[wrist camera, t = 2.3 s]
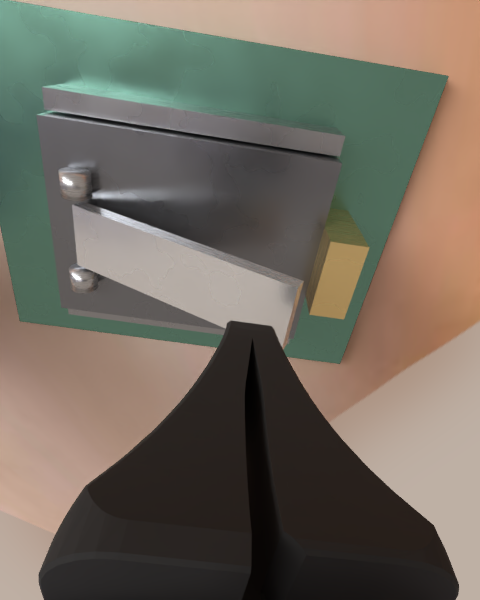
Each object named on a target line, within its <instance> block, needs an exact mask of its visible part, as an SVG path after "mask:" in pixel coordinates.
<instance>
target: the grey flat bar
mask: <svg viewBox="0 0 480 600" xmlns="http://www.w3.org/2000/svg"><path fill="white" fill-rule="evenodd" d="M72 211H73V222H74V232H75V243H76V253H77V264H78V265H79V266H82V267H84V268H86V269H89V270H91V271H93V272H96V273H98V274H100V275H102V276H105V277H107V278H109V279H112V280H114V281H116V282H119V283H121V284H123V285H126V286H128V287H130V288H133V289H135V290H137V291H140V292H142V293H144V294H147V295H149V296H151V297H153V298H156V299H158V300H160V301H163V302H165V303H167V304H170V305H172V306H174V307H177V308H179V309H181V310H184V311H186V312H188V313H191V314H193V315H195V316H197V317H200V318H202V319H204V320H207V321H209V322H211V323H214V324H216V325H218V326H221V327H223V328H225V329H226V325H227V323H228V322H229V321H231V320H232V321H239V322H246V323H254V324H261V325H269V326H272V327H273V328H274V330H275V332H276V335H277V337H278V340H279V342H280V344H281V346H282V348H283V349H284V348H285V346H286V345H287V342H288V338H289V334H290V330H291V327H292V323H293V319H294V316H295V312H296V308H297V304H298V301H299V297H300V293H301V290H302V286H303V282H304V281H302V280H299V279H297V278H294V277H291V276H288V275H286V274H283V273H280V272H277V271H274V270H272V269H269V268H266V267H263V266H261V265H258V264H255V263H252V262H250V261H247V260H244V259H241V258H238V257H236V256H233V255H230V254H227V253H225V252H222V251H219V250H216V249H214V248H211V247H208V246H205V245H202V244H200V243H197V242H194V241H191V240H189V239H186V238H183V237H180V236H178V235H175V234H172V233H169V232H166V231H164V230H161V229H158V228H155V227H153V226H150V225H147V224H144V223H142V222H139V221H136V220H133V219H130V218H128V217H125V216H122V215H119V214H117V213H114V212H111V211H108V210H106V209H103V208H100V207H97V206H94V205H92V204H89V203H86V202H79V203H76V204H73V205H72Z"/></svg>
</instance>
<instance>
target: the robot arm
mask: <svg viewBox="0 0 480 600" xmlns="http://www.w3.org/2000/svg"><path fill="white" fill-rule="evenodd" d="M39 585H40V589H41V592H42V595H43V598H44V600H456V598H457V596H458V592H459V584H458V581H457V578H456V576H455V573H454V571H453V568H452V565H451V562H450V560H449V557H448V555H447V553H446V550H445V548H444V546H443V544H442V542H441V540H440V538H439V536H438V534H437V531H436V529H435V527H434V525H433V524H431V523H430V522H429V521H428V520H427V519H426V518H424V517H423V516H422V515H421V514H420V513H418V512H417V511H416V510H415V509H414V508H412V507H411V506H410V505H409V504H408V503H406V502H405V501H404V500H403V499H402V498H401V497H399V496H398V495H397V494H396V493H395V492H394V491H392V490H391V489H390V488H389V487H388V486H387V485H386V484H385V483H384V482H383V481H382V480H381V479H380V478H379V477H378V476H376V475H375V474H374V473H373V472H372V471H371V470H370V469H369V468H368V467H367V466H366V465H365V464H364V463H363V462H362V461H361V459H360V458H359V457H358V456H357V455H356V454H355V453H354V452H353V451H352V450H351V449H350V448H349V447H348V445H347V444H346V443H345V442H344V441H343V440H342V439H341V438H340V436H339V435H338V434H337V433H336V432H335V431H334V429H333V428H332V427H331V425H330V424H329V423H328V421H327V420H326V419H325V418H324V416H323V415H322V414H321V412H320V411H319V409H318V408H317V407H316V405H315V404H314V402H313V401H312V399H311V398H310V396H309V395H308V393H307V392H306V390H305V388H304V387H303V385H302V384H301V382H300V380H299V379H298V377H297V375H296V373H295V371H294V370H293V368H292V366H291V364H290V362H289V360H288V359H287V357H286V355H285V353H284V350H283V348H282V346H281V344H280V342H279V340H278V337H277V335H276V332H275V330H274V328H273V327H272V326H269V325H261V324H254V323H246V322H239V321H232V320H231V321H229V322H228V323H227V325H226V329H225V332H224V335H223V337H222V340H221V342H220V344H219V346H218V348H217V350H216V351H215V353H214V355H213V357H212V358H211V360H210V362H209V363H208V365H207V367H206V368H205V370H204V371H203V372H202V374H201V375H200V377H199V378H198V380H197V381H196V383H195V384H194V385H193V387H192V388H191V389H190V390H189V392H188V393H187V394H186V395H185V397H184V398H183V399H182V400H181V401H180V403H179V404H178V405H177V406H176V407H175V408H174V409H173V410H172V412H171V413H170V414H169V415H168V416H167V417H166V418H165V419H164V420H163V421H162V422H161V423H160V424H159V425H158V426H157V427H156V428H155V429H154V430H153V431H152V432H151V433H150V434H149V435H148V436H147V437H145V438H144V439H143V440H142V441H141V442H140V443H139V444H138V445H137V446H135V447H134V448H133V449H132V450H131V451H130V452H129V453H128V454H126V455H125V456H124V457H123V458H122V459H120V460H119V461H118V462H116V463H115V464H114V465H113V466H111V467H110V468H109V469H107V470H106V471H105V472H103V473H102V474H101V475H99V476H98V477H97V478H95V479H94V480H93V481H92V482H90V483H89V484H88V485H86V486H85V487H84V489H83V490H82V492H81V493H80V495H79V496H78V498H77V499H76V501H75V502H74V504H73V505H72V507H71V508H70V510H69V511H68V513H67V515H66V516H65V518H64V520H63V522H62V523H61V525H60V527H59V529H58V531H57V533H56V535H55V537H54V539H53V541H52V543H51V546H50V548H49V551H48V553H47V555H46V558H45V560H44V562H43V565H42V568H41V570H40V572H39Z"/></svg>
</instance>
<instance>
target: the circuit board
mask: <svg viewBox="0 0 480 600" xmlns="http://www.w3.org/2000/svg"><path fill="white" fill-rule="evenodd" d="M448 77H449V76H446V75H440V74H434V73H428V72H423V71H417V70H411V69H405V68H399V67H394V66H388V65H382V64H376V63H370V62H364V61H359V60H353V59H347V58H341V57H335V56H330V55H324V54H318V53H312V52H306V51H301V50H295V49H289V48H283V47H277V46H271V45H266V44H260V43H254V42H248V41H242V40H237V39H231V38H225V37H219V36H213V35H208V34H202V33H196V32H190V31H184V30H178V29H173V28H167V27H161V26H155V25H149V24H144V23H138V22H132V21H126V20H120V19H115V18H109V17H103V16H97V15H91V14H85V13H80V12H74V11H68V10H62V9H56V8H51V7H45V6H39V5H33V4H27V3H22V2H16V1H10V0H0V226H1V231H2V236H3V241H4V246H5V251H6V256H7V261H8V265H9V270H10V275H11V280H12V285H13V290H14V295H15V300H16V305H17V309H18V314H19V319H20V321H22V322H30V323H37V324H45V325H52V326H60V327H67V328H75V329H82V330H90V331H97V332H105V333H112V334H120V335H127V336H135V337H142V338H150V339H157V340H165V341H172V342H180V343H187V344H195V345H202V346H210V347H217V348H218V346H219V344H220V342H221V340H222V337H223V335H224V332H225V328H223V327H221V326H218V325H216V324H214V323H211V322H209V321H207V320H204V319H202V318H200V317H197V316H195V315H193V314H191V313H188V312H186V311H184V310H181V309H179V308H177V307H174V306H172V305H170V304H167V303H165V302H163V301H160V300H158V299H156V298H153V297H151V296H149V295H147V294H144V293H142V292H140V291H137V290H135V289H133V288H130V287H128V286H126V285H123V284H121V283H119V282H116V281H114V280H112V279H109V278H107V277H105V276H102V275H100V274H98V273H96V272H93V271H91V270H89V269H86V268H84V267H82V266H79V265H78V264H77V253H76V243H75V232H74V222H73V211H72V205H73V204H76V203H79V202H86V203H89V204H92V205H94V206H97V207H100V208H103V209H106V210H108V211H111V212H114V213H117V214H119V215H122V216H125V217H128V218H130V219H133V220H136V221H139V222H142V223H144V224H147V225H150V226H153V227H155V228H158V229H161V230H164V231H166V232H169V233H172V234H175V235H178V236H180V237H183V238H186V239H189V240H191V241H194V242H197V243H200V244H202V245H205V246H208V247H211V248H214V249H216V250H219V251H222V252H225V253H227V254H230V255H233V256H236V257H238V258H241V259H244V260H247V261H250V262H252V263H255V264H258V265H261V266H263V267H266V268H269V269H272V270H274V271H277V272H280V273H283V274H286V275H288V276H291V277H294V278H297V279H299V280H302V281H304V282H303V286H302V290H301V293H300V297H299V301H298V304H297V308H296V312H295V316H294V319H293V323H292V327H291V330H290V334H289V338H288V342H287V345H286V346H285V348H284V349H283V350H284V353H285V355H286V357H292V358H300V359H307V360H315V361H322V362H330V363H337V364H340V362H341V360H342V357H343V354H344V352H345V349H346V346H347V344H348V341H349V338H350V336H351V333H352V331H353V328H354V325H355V323H356V320H357V317H358V315H359V312H360V309H361V307H362V304H363V301H364V299H365V296H366V293H367V291H368V288H369V286H370V283H371V280H372V278H373V275H374V272H375V270H376V267H377V264H378V262H379V259H380V256H381V254H382V251H383V249H384V246H385V243H386V241H387V238H388V235H389V233H390V230H391V227H392V225H393V222H394V219H395V217H396V214H397V211H398V209H399V206H400V204H401V201H402V198H403V196H404V193H405V190H406V188H407V185H408V182H409V180H410V177H411V174H412V172H413V169H414V166H415V164H416V161H417V159H418V156H419V153H420V151H421V148H422V145H423V143H424V140H425V137H426V135H427V132H428V129H429V127H430V124H431V122H432V119H433V116H434V114H435V111H436V108H437V106H438V103H439V100H440V98H441V95H442V92H443V90H444V87H445V84H446V82H447V79H448Z"/></svg>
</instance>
